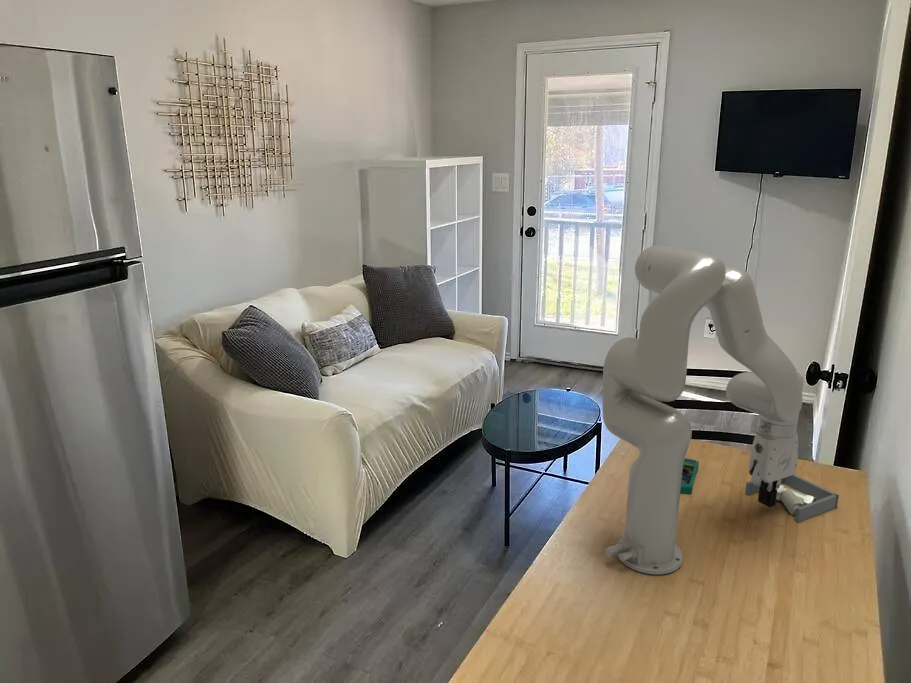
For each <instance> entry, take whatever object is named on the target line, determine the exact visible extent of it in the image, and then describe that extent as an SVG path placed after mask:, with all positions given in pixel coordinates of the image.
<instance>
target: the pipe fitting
mask: <svg viewBox="0 0 911 683" xmlns="http://www.w3.org/2000/svg"><path fill="white" fill-rule="evenodd" d="M776 501H780V502H782V503H783V505H784V506H785V508H786V509H787V511H788V513H790V514H791V516H795V515H796V508H798V507H801V506H804V505H806V504H809V503H812V502H814V501H817V498H816V497H813V496H810V495H807V494H804V493H802V492H800V491H798V490H796V489H794V488H791V487H790V488H789V487H788V486H787V485H786V486H785V485H783V484H780V487H779V488H778V489H777V496H776Z"/></svg>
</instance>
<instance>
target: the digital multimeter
mask: <svg viewBox="0 0 911 683" xmlns="http://www.w3.org/2000/svg"><path fill="white" fill-rule="evenodd" d="M699 465H700V463H699V461H697V460H696V459H693V458H687V457H685V460H684V464H683V470H682V478H681V488H680V494H683V495H684V494H685V495H692V493H693V488H694V482H695V478H696V475H697V473H698V470H699Z"/></svg>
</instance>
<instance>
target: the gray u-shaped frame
mask: <svg viewBox="0 0 911 683" xmlns="http://www.w3.org/2000/svg"><path fill="white" fill-rule="evenodd" d="M750 481H751V480H749V481H746V483H745V490H744V491H745V492H744V494H745V495H746V496H750V495H753V494H757V493H759V488H760V487H759V486H756V485H754V484H752V483H751V482H750ZM783 484H785V485H786V486H787V487H788V486H789V487H790V488H791V489H793V490H796V491H798V492H801V493H804V494H807V495H810V496H813V497H816V498H817V501H814V502H812V503H809V504H806V505H804V506H801V507H798V508H796V515H794V521H795V522H796V523H800V522H803V521H805V520H808V519H811V518H813V517H816V516H818V515H820V514H823V513H827V512H829V511H831V510H833V509H836V508H838V502H839V498H840V497H839V496H840V494H837V493H835V492H833V491H831V490H829V489H826V488H824V487H822V486H821V485H819V484H816V483H814V482H812V481H810V480H808V479H806V478H803V477H802V476H799V475H797V474H795V473H794V474H793V475H791V476H788V477H785V478H783V479H782V480H781V484H780V485H783Z"/></svg>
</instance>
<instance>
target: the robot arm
mask: <svg viewBox="0 0 911 683" xmlns="http://www.w3.org/2000/svg"><path fill="white" fill-rule="evenodd" d="M634 273H635V277H636V279H637V281H638V283H639V284H640V286H642V287H643V288H644V289H646V290H648V291H651V292H654V293H658V294H657V295H656V296H655V297H654V298H653V299H652V300H651V302H650V303H649V304H648V305H647V307H646V308H645V309H644V311H643V313H642V315H641V317H640V322H639V331H638V337H637V338H636V337H623V338H620V339H619V340H617V341H616V342H615V343H613V345H612V346H610V348H609V350H608V352H607V354H606V356H605V359H604V362H603V372H602V406H601V407H602V420H603V423H604V426H605V428H606V429H607V431H608V432H610V433H611V434H612V435H614V436H615V437H617V438H619V439H620V440H622V441H624V442H626V443H628V444H630V445H632V446H633V447H634V448H637V450H638V451H639V454H638V457H637V458H636V459H635V460H634V461H633V463H632V464H631V465H630V467H629V471H628V480H627V481H628V482H627V483H628V484H627V485H628V486H627V487H628V488H627V497H626V498H627V500H626V514H625V530H624V533H623V534H620V538H619V539H618V541H617V542H616V544H615V545H614V544H613V545H611V546H607V547H605V549H604V553H605V556H606V557H607V558H609V559H610V558H613V557H615V556H616V557H617V558H618V560H620V562H621V563H622V564H624V565H625V566H626V567H628V568H629V569H632V570H634V571H637V572H638V573H642V574H649V575H666V574H670V573H673V572H676V571H677V570H679V568H681V566H682V564H683V559H684V555H683V552H682V549H681V548H680V547H679V546H678V545H677V541H676V540H677V534H678V532H677V531H678V520H679V512H680V511H679V509H680V496H681V493H680V488H681V478H682V470H683V464H684V460H685V458H686V457H687V453H688V449H689V446H690V443H691V440H692V435H693V434H692V432H693V431H692V425H691V423H690V421H689V419H688V418H687V416H685V415H684V413H682V412H681V411H679V410H678V409H676V408H674V407H673V406H669V405H668V404H667V403H669V402H674V401H675V400H677V399H679V398H680V397H681V395H683V392H684V390H685V387H686V381H687V372H688V371H687V370H688V358H689V354H688V353H689V342H690V341H689V340H690V333H691V332H690V331H691V327H692V325H693V322H694V320H695V318H696V316H697V315H698V313H699V312H700V311H701V310H702V308H703V307H704V308H707V310H708V311H709V313H710V317H711V319H712V323H713V326H714V330H715V333H716V337H717V341H718V344H719V346H720V347H721V348H722V350H723V351H724V352H725V353H726V354H728V355H729V356H730V357H731V358H732V359H734V360H735V361H736V362H738V363H740V365H742V366H744V367H745V368H747V369H748V370H749V371H746V372H745V371H744V372H740V373H738V374H735V375H734V376H733V377H732V378H730V379H729V381H728V382H727V384H726V387H725V394H726V397H727V399H728V400H729V401H730V402H731V404H733V405H735V407H738V408H740V409H743V410H745V411H748V412H751V413H754V414H757V415H758V419H757V424H756V432H755V435H754V438H753V442H752V445H751V450H750V456H749V462H748V474H749V475H750V476H751V479H750V480H749V481H750V482H751V483H752V484H754V485H756V486H759V487H760V488H759V492H758V497H757V502H759V503H760V504H761V505H764V506H766V507H767V508H772V507H775V506H776V502H777V499H776V496H777V489H778V488H779V487H780V485H782V484H781V480H782V479H783V478H785V477H788V476H791V475H793V474H795V473H796V472H797V466H798V458H799V457H798V456H799V438H798V437H799V436H798V432H797V431H798V430H797V429H798V422H799V416H800V412H801V410H802V407H803V390H804V389H803V388H804V376H803V375H802V374H801V373H800V372H798V370H797V369H796V366H795V365H794V364H793V362H792V360H791V359H790V358H789V357H788V356H787V354H786V353H785V352H784V350H782V349H781V347H780V346H779V345H778V344H777V343H776V342H775V340H773V338H771V337H770V335H768V333H767V331H766V330H765V324H764V320H763V316H762V312H761V308H760V304H759V300H758V297H757V292H756V289H755V284H754V281H753V279H752V277H751V275H750V274H749V273H748V272H747V271H746V270H744V269H743V268H740V267H737V266H734V265H729V264H725V263H724V261H722V259H721V258H720V257H718V256H716V255H715V254H712V253H709V252H705V251H701V250H694V249H690V248H689V249H688V248H682V247H681V248H680V247H675V246H668V245H661V244H659V245H657V244H656V245H651V246H649V247H647V248H646V249H643V251H641V253H640V254H639V255H638V257H637V258H636V261H635V265H634ZM663 402H664V403H663ZM665 402H666V404H665Z"/></svg>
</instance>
